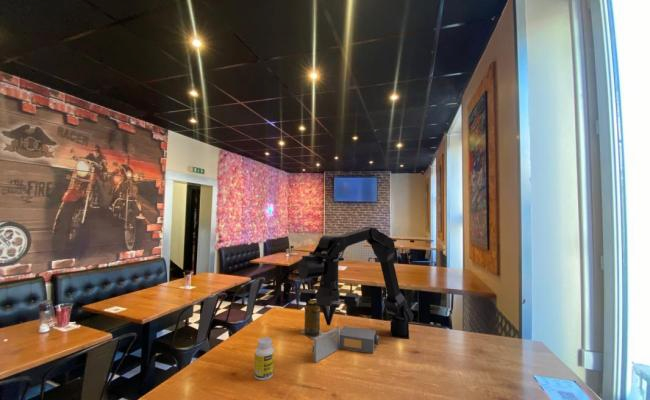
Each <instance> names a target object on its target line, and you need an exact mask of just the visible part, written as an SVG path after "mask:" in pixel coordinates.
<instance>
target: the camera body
mask: <svg viewBox="0 0 650 400" xmlns="http://www.w3.org/2000/svg"><path fill="white" fill-rule="evenodd" d="M336 328H337V329H338V350H337V351H339V350H340V349H344V350H350V351H355V352H362V353H367V354H368V353H369V354H374V351H375V347H376V346H378V345H379V340H380V337H379V334H376V333H377V331H376V329H367V328H362V327H355V326H346V325H345V326H344V325H343V326H342V329H341V327H339V326H337V327H336Z"/></svg>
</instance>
